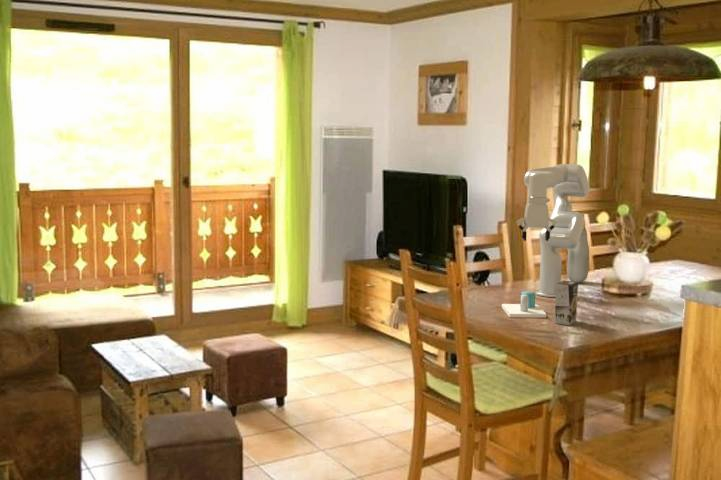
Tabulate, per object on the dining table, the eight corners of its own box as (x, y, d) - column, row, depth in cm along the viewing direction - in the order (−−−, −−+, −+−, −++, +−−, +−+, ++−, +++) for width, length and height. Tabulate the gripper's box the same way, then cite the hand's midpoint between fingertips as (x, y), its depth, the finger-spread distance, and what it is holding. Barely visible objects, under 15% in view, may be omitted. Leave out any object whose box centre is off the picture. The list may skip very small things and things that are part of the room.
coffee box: (569, 325, 306) (571, 285, 303) (553, 323, 309) (555, 283, 307) (576, 320, 313) (578, 281, 311) (561, 318, 317) (562, 279, 314)
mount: (536, 307, 336) (537, 289, 335) (546, 317, 318) (547, 298, 317) (501, 307, 336) (502, 289, 335) (509, 317, 318) (510, 298, 317)
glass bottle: (570, 279, 399) (573, 225, 395) (590, 282, 393) (593, 227, 389) (563, 282, 391) (566, 227, 387) (583, 285, 386) (586, 229, 382)
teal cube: (537, 307, 330) (538, 293, 329) (527, 308, 327) (527, 294, 327) (528, 304, 335) (528, 290, 335) (517, 305, 333) (518, 291, 332)
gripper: (555, 200, 340) (553, 239, 343) (515, 200, 340) (514, 239, 343) (559, 202, 333) (557, 241, 335) (519, 201, 333) (517, 241, 335)
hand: (535, 240), depth 339 cm, fingers open, 9 cm apart
